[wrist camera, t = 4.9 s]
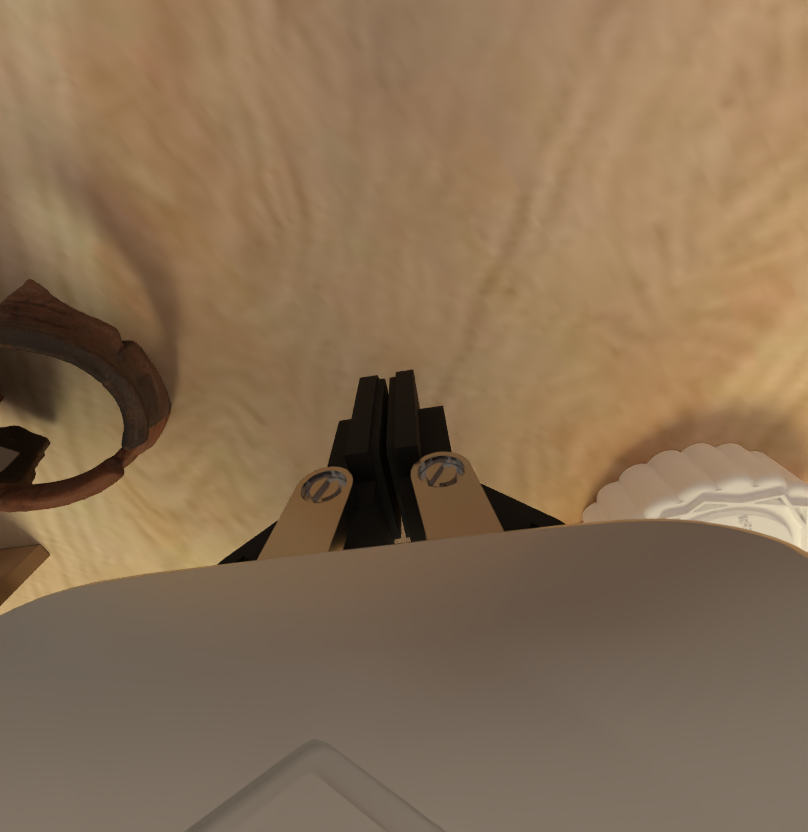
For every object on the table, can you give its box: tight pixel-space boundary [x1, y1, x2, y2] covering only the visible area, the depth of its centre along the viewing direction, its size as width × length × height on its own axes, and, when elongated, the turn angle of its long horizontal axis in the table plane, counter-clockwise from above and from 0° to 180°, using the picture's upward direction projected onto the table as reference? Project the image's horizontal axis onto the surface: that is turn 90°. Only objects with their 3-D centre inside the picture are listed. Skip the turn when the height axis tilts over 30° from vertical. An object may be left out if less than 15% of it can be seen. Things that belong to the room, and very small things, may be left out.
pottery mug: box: [0, 280, 171, 512], centre depth 16 cm, size 12×10×8 cm
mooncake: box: [582, 443, 808, 552], centre depth 22 cm, size 12×12×4 cm
